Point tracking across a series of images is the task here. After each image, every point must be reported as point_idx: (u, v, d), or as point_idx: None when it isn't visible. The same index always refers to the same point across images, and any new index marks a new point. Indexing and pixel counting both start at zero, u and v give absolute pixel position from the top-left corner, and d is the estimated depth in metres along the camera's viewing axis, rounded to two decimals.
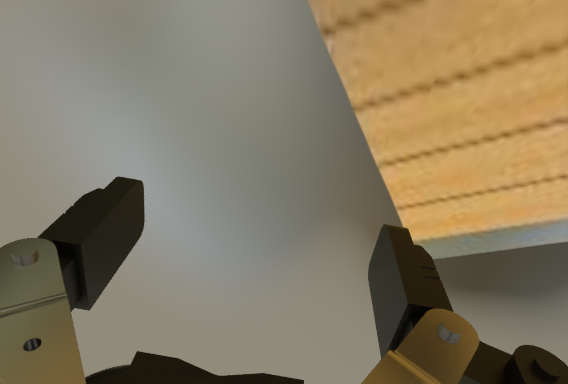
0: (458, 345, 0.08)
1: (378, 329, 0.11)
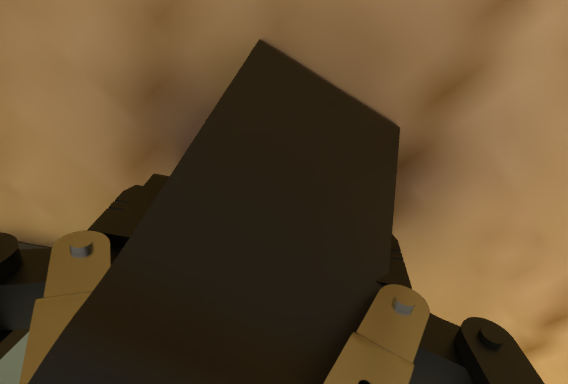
0: (409, 316, 0.09)
1: None
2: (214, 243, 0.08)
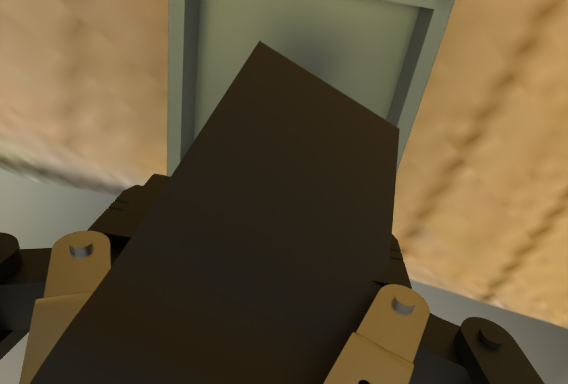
0: (408, 316, 0.09)
1: None
2: (214, 244, 0.08)
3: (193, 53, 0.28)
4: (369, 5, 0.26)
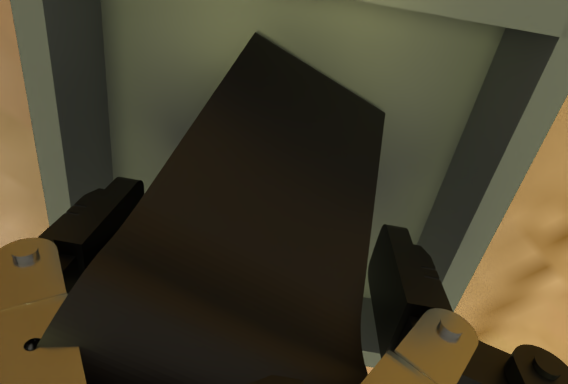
0: (457, 345, 0.08)
1: (377, 329, 0.11)
2: (214, 205, 0.09)
3: (94, 107, 0.16)
4: (410, 24, 0.14)
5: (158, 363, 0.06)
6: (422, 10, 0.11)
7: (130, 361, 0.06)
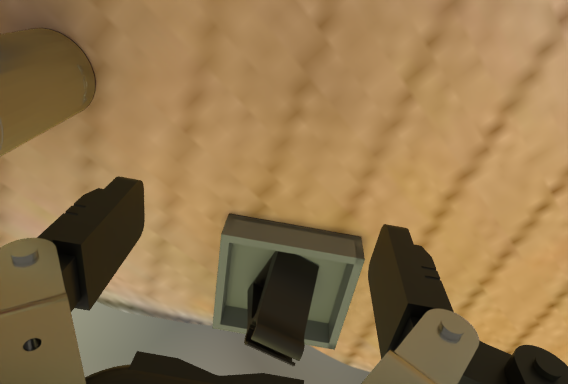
0: (458, 345, 0.08)
1: (378, 329, 0.11)
2: (273, 308, 0.44)
3: (229, 265, 0.50)
4: None
5: (269, 340, 0.41)
6: (321, 258, 0.45)
7: (264, 339, 0.41)
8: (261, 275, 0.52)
